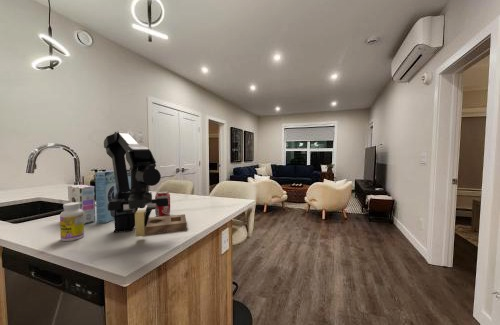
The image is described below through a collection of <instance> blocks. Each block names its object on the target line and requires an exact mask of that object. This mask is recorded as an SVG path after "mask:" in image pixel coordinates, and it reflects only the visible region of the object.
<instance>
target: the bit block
mask: <svg viewBox="0 0 500 325" xmlns="http://www.w3.org/2000/svg"><path fill="white" fill-rule="evenodd" d="M187 230H188V228H187V218H186V214H176V215H173V214H172V215H168V216H161V217H158V216H153V217H151V216H149V219H148V222H147V225H146V233H145V235H153V234H154V235H155V234H164V233H172V232H179V231H187Z"/></svg>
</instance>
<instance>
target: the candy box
mask: <svg viewBox="0 0 500 325" xmlns="http://www.w3.org/2000/svg"><path fill="white" fill-rule="evenodd" d="M67 194H68V203H73V202H79V203H80V207H79V209H81V210H83V218H84V225H86V224H91V223H94V222H97V218H96V185H95V186H93V185H86V184H74V185H68V186H67Z"/></svg>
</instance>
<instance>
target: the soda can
mask: <svg viewBox="0 0 500 325" xmlns="http://www.w3.org/2000/svg"><path fill="white" fill-rule="evenodd" d="M158 196H167V197H168V198H169V204H168V206H163V207H158V206H157V205H156V208H155V209H154V210H155V211H154V212H155V217H161V216H170V214H171V194H170V193H169V191H168V190H159V191H157V192H155V196H154V199H157V197H158Z"/></svg>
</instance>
